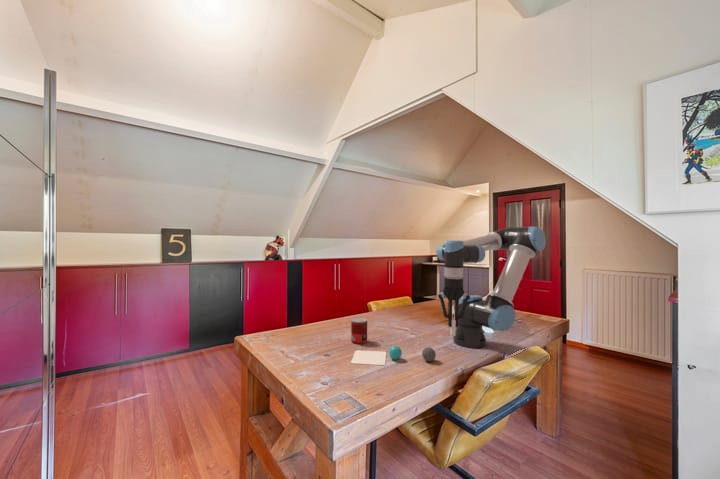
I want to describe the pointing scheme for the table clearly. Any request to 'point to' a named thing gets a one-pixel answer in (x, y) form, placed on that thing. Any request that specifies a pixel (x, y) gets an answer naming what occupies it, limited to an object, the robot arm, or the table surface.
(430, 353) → the gray ball
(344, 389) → the table surface
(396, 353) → the object ball
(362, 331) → the canned food
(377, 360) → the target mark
